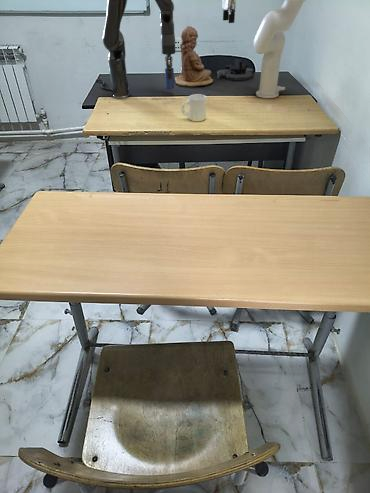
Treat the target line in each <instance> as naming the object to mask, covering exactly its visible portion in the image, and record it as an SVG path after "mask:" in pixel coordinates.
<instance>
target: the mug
mask: <svg viewBox="0 0 370 493" xmlns="http://www.w3.org/2000/svg"><path fill="white" fill-rule="evenodd" d="M186 105H188V112H186V111H185V106H186ZM180 109H181V113H182V115H184V116H186V117H188V118H189V120H190V121H193V122H201V121H204V120H205V119H207V118H206V117H207V96H206V95H205V94H202V93H195V94H190V95H188V99H186V100H185V101H183V103H182V104H181V107H180Z"/></svg>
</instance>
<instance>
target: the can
mask: <svg viewBox="0 0 370 493" xmlns="http://www.w3.org/2000/svg"><path fill="white" fill-rule="evenodd" d="M168 69H171V68H168ZM164 78H165V89H166V90H174V89H175V73H174V67H172V79H168V73H167V67H165V68H164Z"/></svg>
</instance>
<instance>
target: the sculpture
mask: <svg viewBox="0 0 370 493" xmlns="http://www.w3.org/2000/svg"><path fill="white" fill-rule="evenodd" d="M180 38H181V43H180V44H179V48H180V54H181V56H180V60H181V68H182V69H181V74H180V75H178V76H174V81H175V84H177V85H178V86H181V87H201V86H208V85H210V84H212V83H213V82H214V79H213V78H212V77H211V75H212V71H211V70H210V69H205V65H204V64H203V63H202V59H201V57H200V56H199V54H198V53H197V52H196V51H195V50H194V49H195V48H196V47H197V44H198V43H197V39H198V38H199V34H198V30H197V29H196V28H195V27H192V26H186V27H185V28H184V29H182V31H181V35H180Z"/></svg>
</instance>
